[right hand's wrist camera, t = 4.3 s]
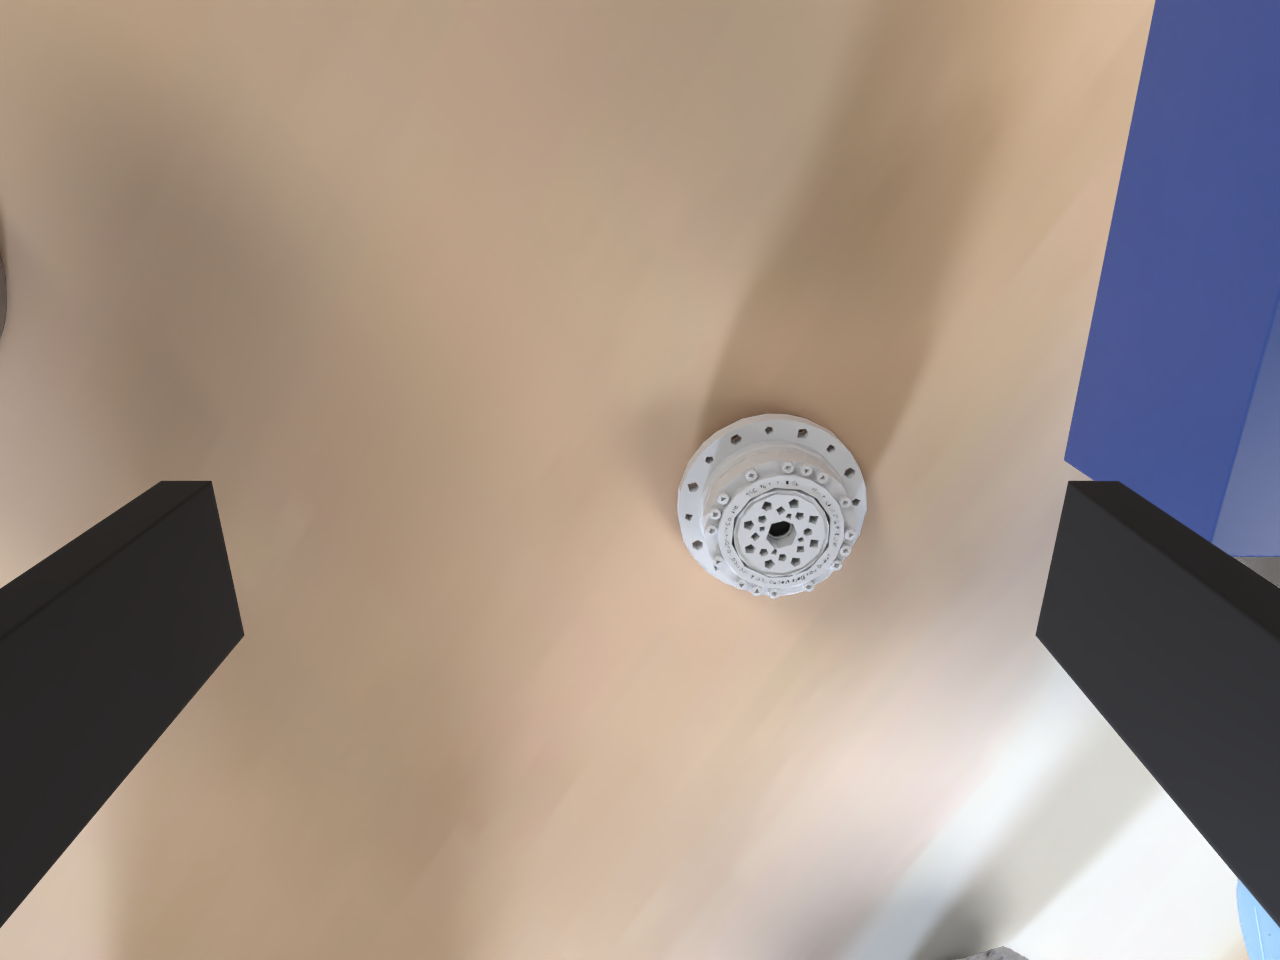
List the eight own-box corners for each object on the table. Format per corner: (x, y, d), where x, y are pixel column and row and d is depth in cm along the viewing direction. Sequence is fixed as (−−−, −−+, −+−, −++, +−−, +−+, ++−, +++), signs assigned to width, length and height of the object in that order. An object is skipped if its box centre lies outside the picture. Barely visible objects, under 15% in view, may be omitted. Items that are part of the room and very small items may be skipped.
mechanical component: (820, 599, 46) (889, 441, 42) (837, 642, 42) (916, 472, 38) (653, 553, 45) (711, 388, 41) (655, 593, 41) (719, 413, 37)
